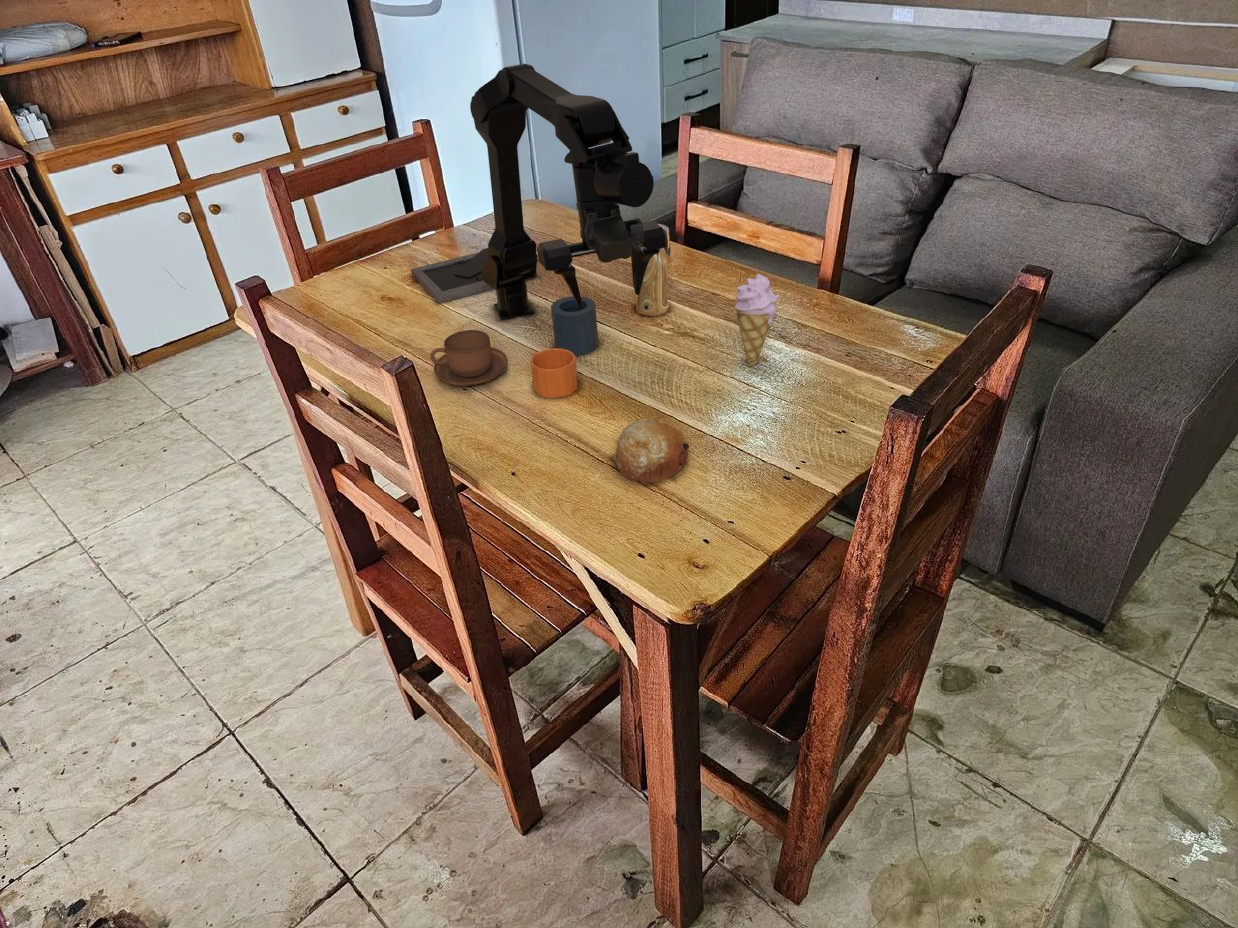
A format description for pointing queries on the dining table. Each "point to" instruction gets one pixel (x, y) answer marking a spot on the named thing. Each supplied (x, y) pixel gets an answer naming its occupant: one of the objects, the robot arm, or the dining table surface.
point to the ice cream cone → (755, 314)
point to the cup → (554, 372)
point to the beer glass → (655, 283)
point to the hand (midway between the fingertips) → (608, 300)
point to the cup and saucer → (468, 359)
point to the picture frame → (454, 277)
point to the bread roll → (650, 451)
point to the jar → (575, 325)
